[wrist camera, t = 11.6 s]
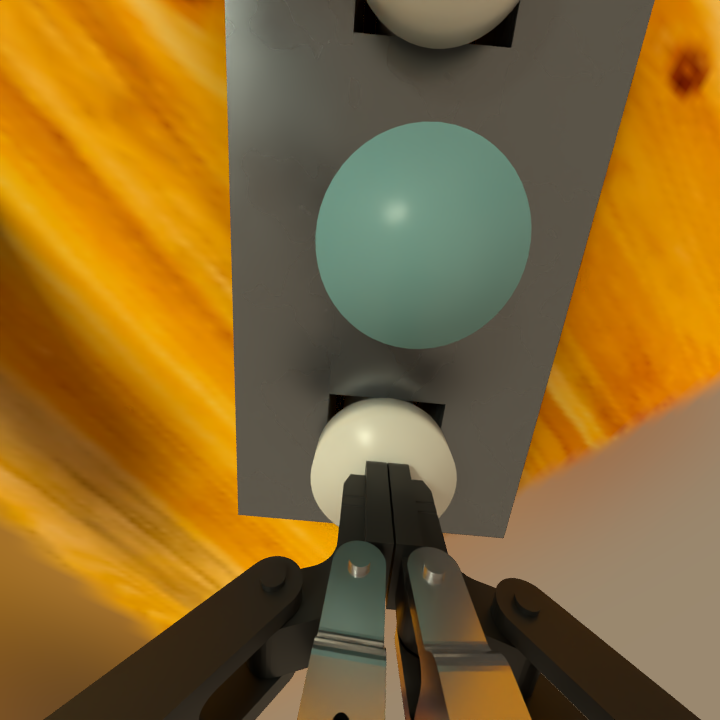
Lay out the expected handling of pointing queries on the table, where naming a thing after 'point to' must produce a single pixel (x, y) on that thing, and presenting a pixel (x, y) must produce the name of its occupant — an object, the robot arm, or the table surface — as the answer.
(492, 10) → the ivory plug
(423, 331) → the plug teal
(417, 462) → the ivory plug
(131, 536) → the table surface
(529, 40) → the socket strip
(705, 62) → the table surface
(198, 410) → the table surface
